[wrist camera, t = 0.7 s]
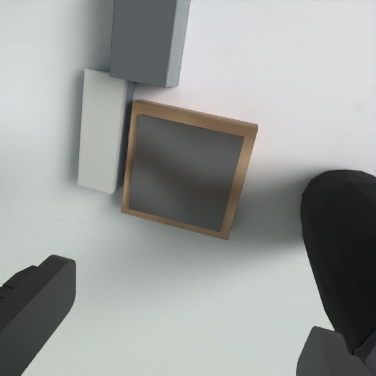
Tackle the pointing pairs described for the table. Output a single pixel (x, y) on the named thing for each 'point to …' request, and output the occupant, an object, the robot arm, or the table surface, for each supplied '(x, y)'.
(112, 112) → the eraser
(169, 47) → the block
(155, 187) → the stand
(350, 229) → the portable speaker
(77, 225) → the table surface
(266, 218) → the table surface
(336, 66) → the table surface
